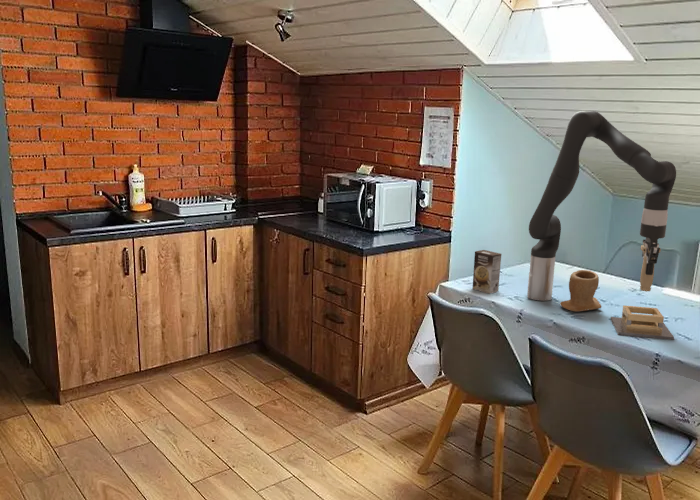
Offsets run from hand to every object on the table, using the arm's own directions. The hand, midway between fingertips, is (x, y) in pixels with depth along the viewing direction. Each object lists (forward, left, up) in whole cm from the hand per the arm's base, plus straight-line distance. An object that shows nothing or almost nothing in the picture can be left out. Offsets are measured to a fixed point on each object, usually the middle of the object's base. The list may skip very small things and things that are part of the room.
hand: (647, 272), depth 205 cm
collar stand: (0, 0, -20) cm, 20 cm away
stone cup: (-17, +17, -20) cm, 31 cm away
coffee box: (-53, +32, -20) cm, 65 cm away
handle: (0, 0, -6) cm, 6 cm away
